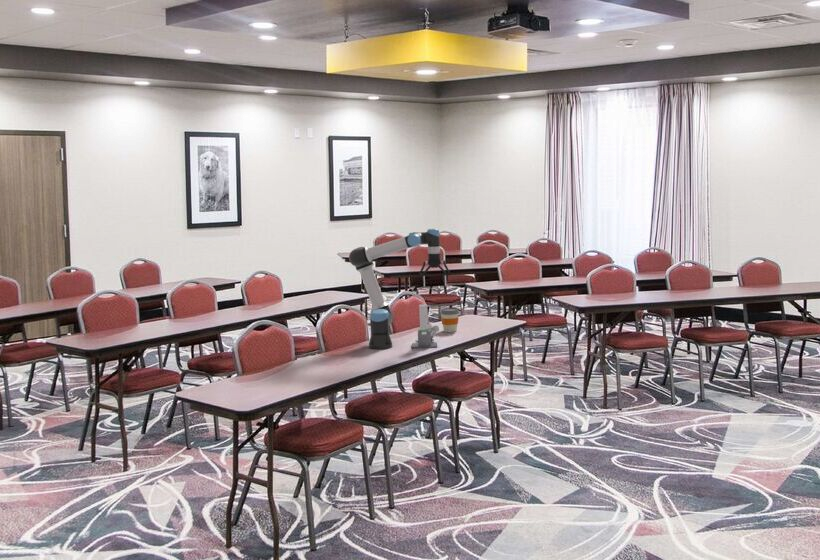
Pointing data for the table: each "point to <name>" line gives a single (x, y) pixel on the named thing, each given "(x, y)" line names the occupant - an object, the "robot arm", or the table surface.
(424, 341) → the stand base
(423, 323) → the column
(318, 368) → the table surface
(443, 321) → the reusable coffee cup
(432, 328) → the valve
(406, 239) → the robot arm
